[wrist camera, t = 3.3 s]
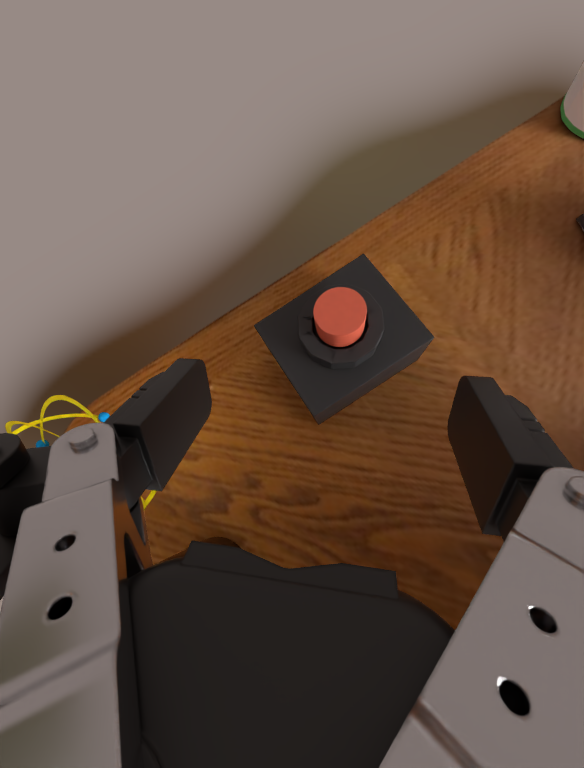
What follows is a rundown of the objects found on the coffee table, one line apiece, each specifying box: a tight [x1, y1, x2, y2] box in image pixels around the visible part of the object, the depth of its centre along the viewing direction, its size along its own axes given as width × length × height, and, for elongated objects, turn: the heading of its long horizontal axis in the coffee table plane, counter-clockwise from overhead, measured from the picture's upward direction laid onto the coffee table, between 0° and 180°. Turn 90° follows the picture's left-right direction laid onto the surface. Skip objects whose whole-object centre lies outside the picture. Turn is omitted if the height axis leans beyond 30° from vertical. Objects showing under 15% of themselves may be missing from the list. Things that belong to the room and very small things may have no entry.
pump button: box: [313, 287, 367, 347], centre depth 26 cm, size 4×4×3 cm
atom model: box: [5, 395, 156, 510], centre depth 29 cm, size 14×15×14 cm
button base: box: [254, 254, 434, 425], centre depth 31 cm, size 12×10×8 cm
